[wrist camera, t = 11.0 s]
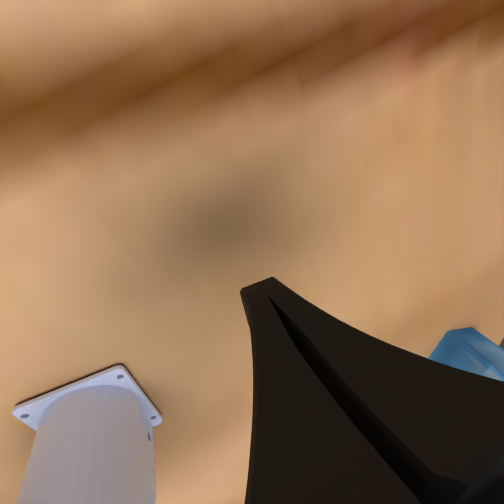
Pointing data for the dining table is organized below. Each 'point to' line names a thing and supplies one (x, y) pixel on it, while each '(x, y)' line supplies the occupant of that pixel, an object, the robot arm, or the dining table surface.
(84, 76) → the dining table surface
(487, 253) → the dining table surface
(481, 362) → the perfume bottle
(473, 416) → the robot arm
